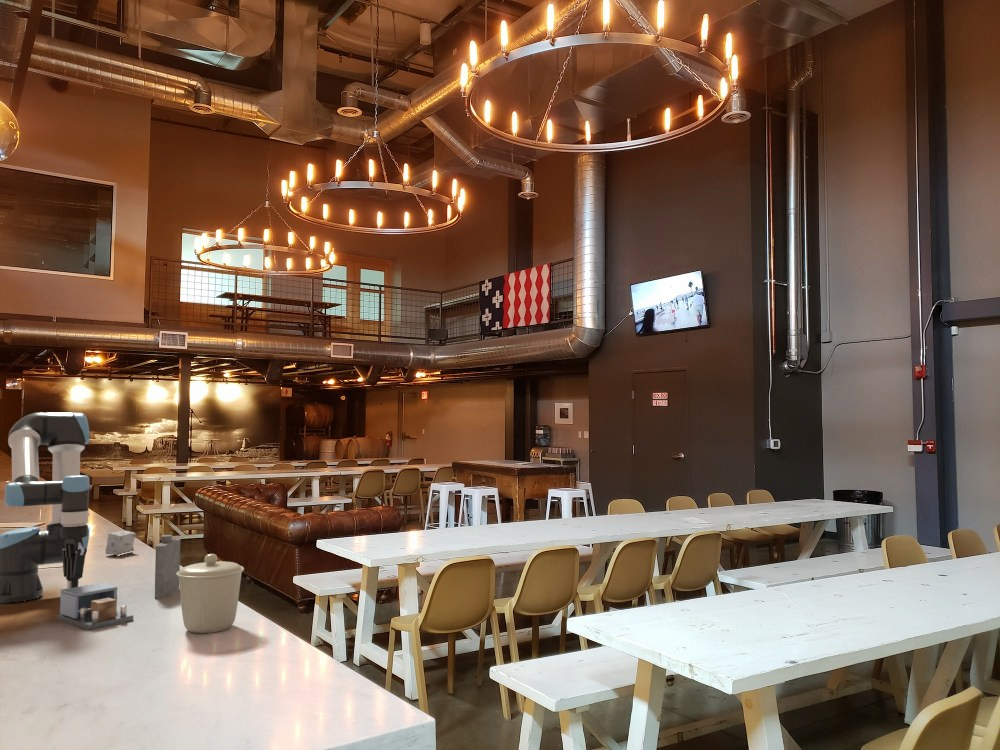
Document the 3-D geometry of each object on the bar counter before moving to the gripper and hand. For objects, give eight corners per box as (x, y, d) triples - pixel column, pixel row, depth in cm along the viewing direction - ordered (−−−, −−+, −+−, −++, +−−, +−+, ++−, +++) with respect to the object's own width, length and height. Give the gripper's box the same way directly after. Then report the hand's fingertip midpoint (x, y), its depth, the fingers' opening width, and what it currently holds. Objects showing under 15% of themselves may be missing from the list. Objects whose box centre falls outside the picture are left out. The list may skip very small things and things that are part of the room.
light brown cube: (98, 620, 212) (98, 603, 212) (90, 618, 215) (91, 600, 215) (115, 617, 216) (116, 599, 216) (108, 614, 219) (108, 597, 219)
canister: (177, 641, 196) (179, 562, 197) (172, 625, 212) (174, 552, 213) (247, 632, 204) (248, 556, 205) (238, 617, 220) (239, 546, 221)
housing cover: (60, 613, 219) (60, 589, 220) (101, 605, 229) (102, 582, 229) (74, 618, 213) (75, 594, 214) (116, 610, 223) (117, 586, 223)
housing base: (57, 619, 219) (57, 604, 219) (102, 610, 229) (102, 596, 230) (87, 630, 207) (87, 614, 207) (133, 620, 217) (133, 605, 218)
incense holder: (119, 557, 325) (120, 533, 326) (104, 556, 327) (105, 533, 328) (136, 553, 334) (137, 530, 335) (121, 552, 337) (122, 530, 337)
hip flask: (162, 598, 245) (164, 538, 247) (150, 598, 245) (151, 538, 246) (180, 588, 261) (181, 531, 262) (169, 588, 261) (170, 531, 262)
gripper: (96, 525, 229) (94, 601, 227) (78, 522, 237) (75, 595, 235) (70, 527, 223) (68, 606, 221) (52, 524, 231) (50, 600, 229)
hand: (72, 600), depth 228 cm, fingers closed
